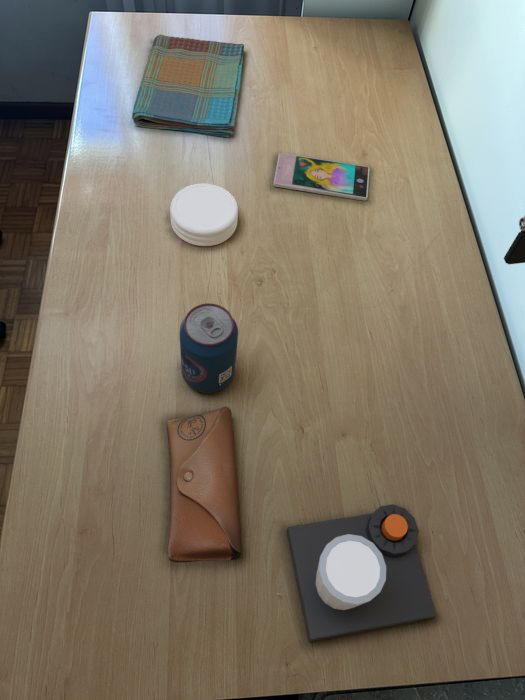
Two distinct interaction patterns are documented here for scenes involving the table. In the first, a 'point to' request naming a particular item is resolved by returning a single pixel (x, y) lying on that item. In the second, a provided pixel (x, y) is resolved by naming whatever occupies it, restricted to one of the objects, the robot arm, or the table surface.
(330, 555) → the white cylinder
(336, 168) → the smartphone
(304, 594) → the scale
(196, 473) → the sunglasses case
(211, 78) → the dish towel
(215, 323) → the soda can
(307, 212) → the table surface
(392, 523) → the button
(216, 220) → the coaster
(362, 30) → the table surface
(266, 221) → the table surface
